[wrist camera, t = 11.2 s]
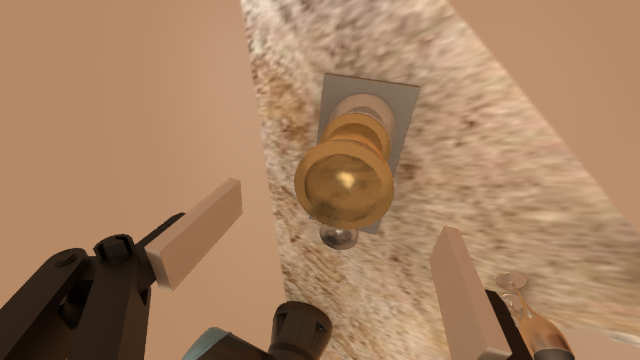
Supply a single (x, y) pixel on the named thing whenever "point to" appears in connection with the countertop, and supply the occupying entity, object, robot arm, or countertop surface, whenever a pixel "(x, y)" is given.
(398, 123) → the plate
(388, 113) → the wide pipe stub
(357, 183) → the gold flared knob
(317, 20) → the countertop surface
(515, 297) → the goblet set
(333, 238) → the narrow pipe stub
